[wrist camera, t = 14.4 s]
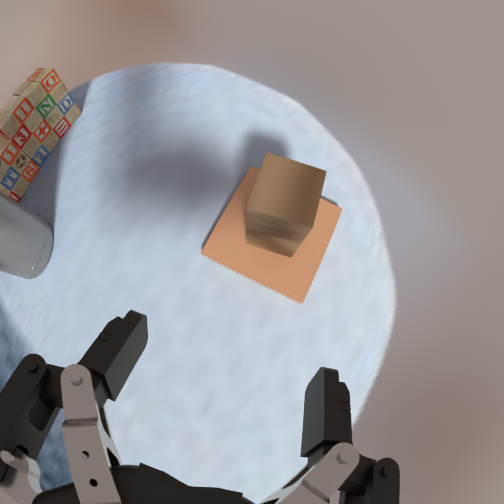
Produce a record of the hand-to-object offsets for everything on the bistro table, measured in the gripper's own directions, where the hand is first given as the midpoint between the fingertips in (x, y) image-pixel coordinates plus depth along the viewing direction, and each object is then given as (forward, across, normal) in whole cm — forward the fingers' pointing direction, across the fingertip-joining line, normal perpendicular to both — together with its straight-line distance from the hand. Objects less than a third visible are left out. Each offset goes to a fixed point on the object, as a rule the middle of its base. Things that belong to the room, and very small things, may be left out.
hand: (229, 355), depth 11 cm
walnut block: (+20, -1, +2) cm, 20 cm away
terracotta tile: (+21, -1, +3) cm, 21 cm away
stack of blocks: (+24, +41, +2) cm, 48 cm away
